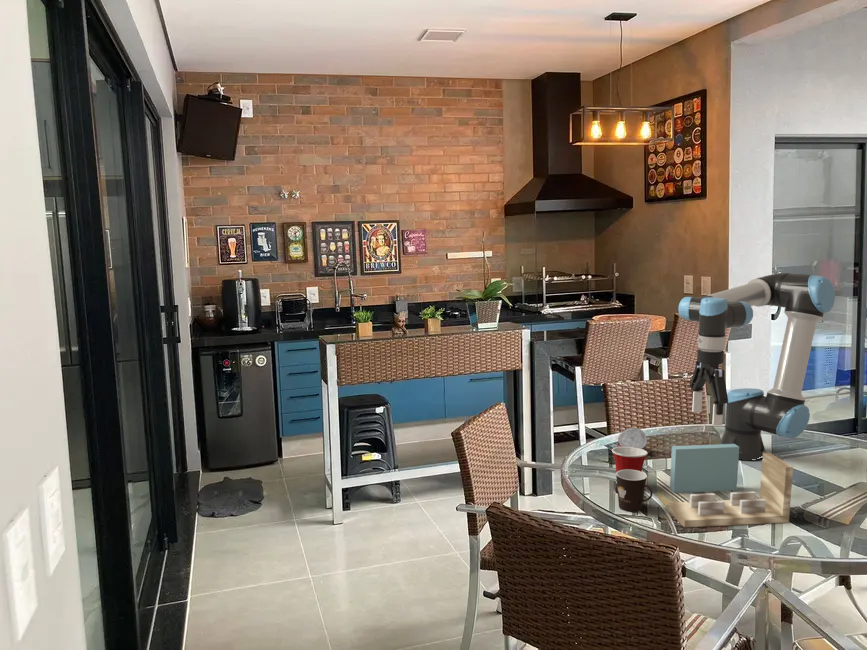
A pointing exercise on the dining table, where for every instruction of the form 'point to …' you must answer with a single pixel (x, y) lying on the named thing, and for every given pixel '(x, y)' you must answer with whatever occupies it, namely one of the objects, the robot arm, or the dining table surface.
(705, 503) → the hinge base
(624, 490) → the coffee mug
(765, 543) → the dining table surface
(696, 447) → the door
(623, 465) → the plastic cup
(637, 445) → the canned food
